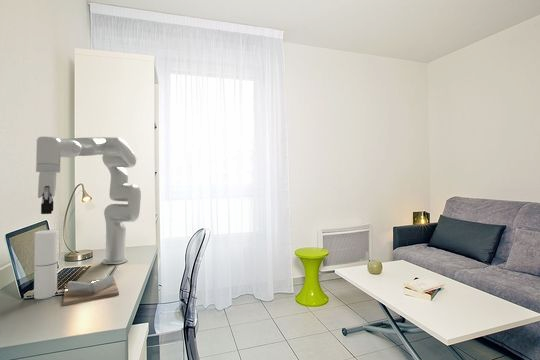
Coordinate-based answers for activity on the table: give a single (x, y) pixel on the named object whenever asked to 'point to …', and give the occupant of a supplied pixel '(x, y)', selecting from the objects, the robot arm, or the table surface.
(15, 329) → the table surface
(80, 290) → the v cradle
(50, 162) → the robot arm
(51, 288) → the cylindrical container
